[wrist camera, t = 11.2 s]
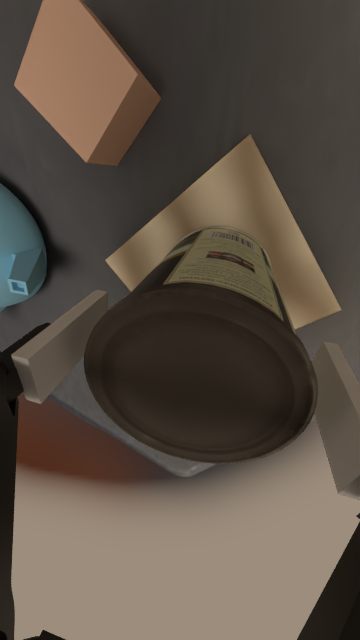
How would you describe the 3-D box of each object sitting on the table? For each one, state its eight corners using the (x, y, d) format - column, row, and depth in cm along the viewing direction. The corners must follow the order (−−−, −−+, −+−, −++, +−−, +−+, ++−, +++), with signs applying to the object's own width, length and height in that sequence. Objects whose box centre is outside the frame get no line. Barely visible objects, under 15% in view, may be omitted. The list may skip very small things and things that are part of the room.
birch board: (249, 137, 18) (250, 133, 17) (335, 302, 22) (341, 309, 21) (111, 256, 25) (105, 260, 24) (198, 362, 30) (196, 370, 29)
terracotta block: (101, 21, 17) (53, -32, 12) (162, 98, 18) (137, 74, 14) (62, 105, 20) (14, 85, 15) (117, 166, 21) (86, 163, 17)
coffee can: (175, 332, 26) (122, 457, 14) (152, 236, 22) (44, 303, 10) (275, 326, 23) (311, 477, 11) (273, 214, 19) (331, 271, 7)
